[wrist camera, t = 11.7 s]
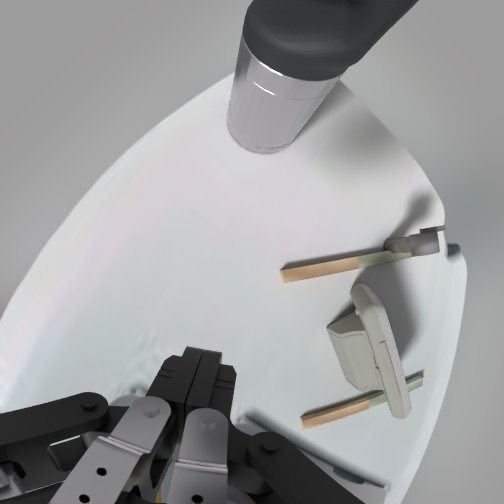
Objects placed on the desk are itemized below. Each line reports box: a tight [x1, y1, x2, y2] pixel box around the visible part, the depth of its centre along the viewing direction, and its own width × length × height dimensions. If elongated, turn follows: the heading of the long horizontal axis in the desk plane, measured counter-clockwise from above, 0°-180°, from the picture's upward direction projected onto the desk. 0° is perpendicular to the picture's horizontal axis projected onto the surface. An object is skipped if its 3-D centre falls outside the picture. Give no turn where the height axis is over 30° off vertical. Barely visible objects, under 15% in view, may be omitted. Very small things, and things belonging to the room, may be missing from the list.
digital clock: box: [327, 283, 412, 419], centre depth 33 cm, size 16×9×11 cm, turn 12°
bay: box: [280, 225, 445, 429], centre depth 33 cm, size 24×20×10 cm
